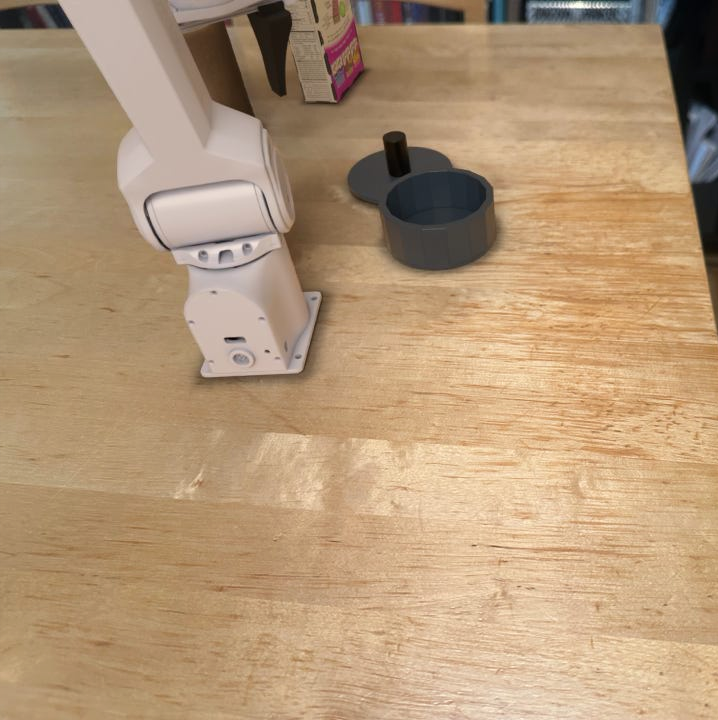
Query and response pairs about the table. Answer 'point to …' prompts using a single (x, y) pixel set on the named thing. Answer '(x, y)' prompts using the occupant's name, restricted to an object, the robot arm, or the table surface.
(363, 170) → the lid
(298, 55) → the candy bar box
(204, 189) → the robot arm
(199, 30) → the pillar candle
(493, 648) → the table surface
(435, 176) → the pot
